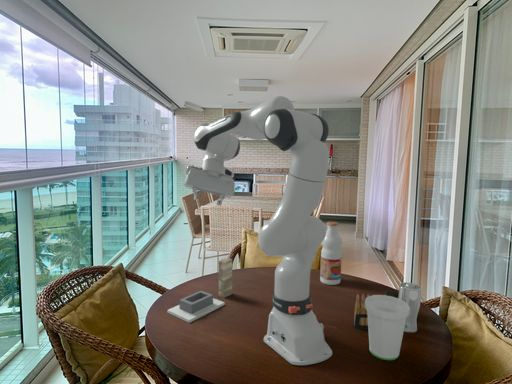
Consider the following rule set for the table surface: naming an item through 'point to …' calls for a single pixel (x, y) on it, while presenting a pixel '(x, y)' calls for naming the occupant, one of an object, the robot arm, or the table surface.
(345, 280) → the table surface
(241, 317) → the table surface
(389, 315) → the cup
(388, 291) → the dark grey rounded lump
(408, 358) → the table surface
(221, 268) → the slat
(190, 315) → the stand
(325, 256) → the fruit juice
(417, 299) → the beer glass
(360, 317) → the ammunition clip
